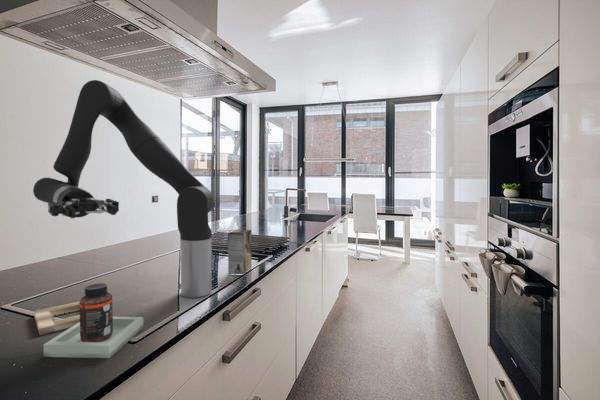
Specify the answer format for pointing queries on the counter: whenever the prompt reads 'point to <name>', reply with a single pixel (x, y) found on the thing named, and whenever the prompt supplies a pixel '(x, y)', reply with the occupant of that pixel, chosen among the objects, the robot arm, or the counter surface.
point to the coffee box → (239, 251)
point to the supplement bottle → (96, 314)
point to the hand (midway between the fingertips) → (95, 212)
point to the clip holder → (49, 325)
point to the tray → (74, 347)
